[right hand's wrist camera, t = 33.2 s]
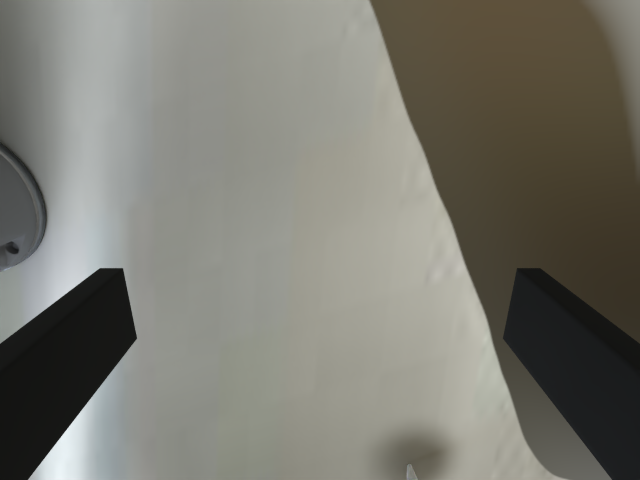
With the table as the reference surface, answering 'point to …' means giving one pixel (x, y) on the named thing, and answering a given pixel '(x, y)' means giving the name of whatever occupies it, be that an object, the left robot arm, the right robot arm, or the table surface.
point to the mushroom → (411, 473)
